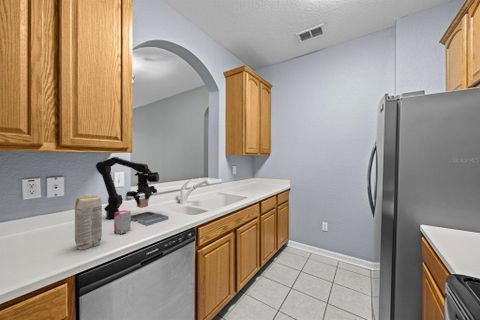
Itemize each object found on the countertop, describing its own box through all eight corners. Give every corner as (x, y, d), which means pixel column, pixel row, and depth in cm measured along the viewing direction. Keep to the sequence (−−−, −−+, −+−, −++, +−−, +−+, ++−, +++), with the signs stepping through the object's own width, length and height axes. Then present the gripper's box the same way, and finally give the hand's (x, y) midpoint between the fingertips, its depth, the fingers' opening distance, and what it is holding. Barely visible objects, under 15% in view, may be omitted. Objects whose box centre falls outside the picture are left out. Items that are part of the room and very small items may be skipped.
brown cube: (140, 207, 128) (141, 200, 127) (136, 206, 130) (136, 199, 130) (148, 206, 132) (148, 199, 132) (143, 205, 134) (143, 198, 134)
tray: (146, 226, 115) (146, 222, 115) (137, 223, 120) (137, 219, 120) (168, 219, 128) (168, 216, 128) (159, 217, 133) (159, 213, 133)
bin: (135, 222, 122) (135, 219, 122) (126, 219, 127) (126, 216, 127) (156, 216, 135) (156, 213, 135) (148, 214, 140) (148, 211, 140)
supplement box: (131, 230, 108) (131, 210, 108) (121, 234, 102) (121, 213, 102) (123, 229, 110) (123, 209, 110) (113, 233, 104) (113, 212, 104)
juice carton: (98, 240, 96) (98, 192, 96) (102, 244, 91) (103, 194, 90) (73, 246, 89) (73, 195, 88) (77, 252, 84) (77, 197, 83)
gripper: (135, 184, 119) (135, 209, 119) (161, 181, 134) (161, 203, 134) (126, 183, 125) (126, 207, 125) (152, 180, 140) (152, 201, 140)
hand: (142, 204), depth 131 cm, fingers closed on brown cube, 5 cm apart
